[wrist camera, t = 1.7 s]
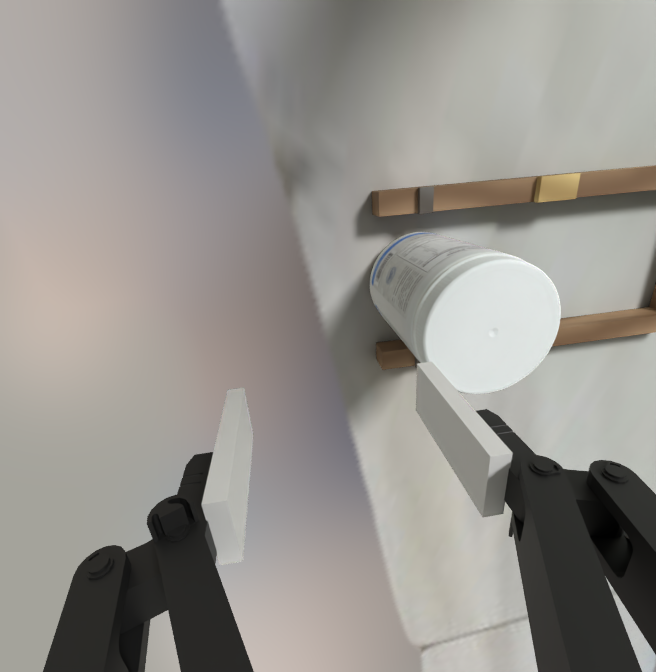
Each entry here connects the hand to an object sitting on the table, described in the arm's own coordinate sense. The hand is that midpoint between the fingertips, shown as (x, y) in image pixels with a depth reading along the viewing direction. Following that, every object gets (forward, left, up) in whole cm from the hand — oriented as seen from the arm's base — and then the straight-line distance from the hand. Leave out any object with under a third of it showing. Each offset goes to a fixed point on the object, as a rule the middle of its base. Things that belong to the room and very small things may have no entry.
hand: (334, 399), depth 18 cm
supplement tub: (0, +11, -20) cm, 22 cm away
